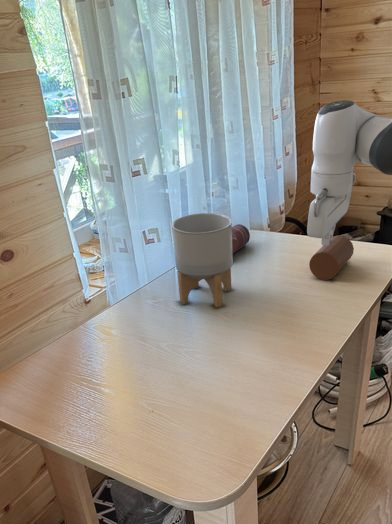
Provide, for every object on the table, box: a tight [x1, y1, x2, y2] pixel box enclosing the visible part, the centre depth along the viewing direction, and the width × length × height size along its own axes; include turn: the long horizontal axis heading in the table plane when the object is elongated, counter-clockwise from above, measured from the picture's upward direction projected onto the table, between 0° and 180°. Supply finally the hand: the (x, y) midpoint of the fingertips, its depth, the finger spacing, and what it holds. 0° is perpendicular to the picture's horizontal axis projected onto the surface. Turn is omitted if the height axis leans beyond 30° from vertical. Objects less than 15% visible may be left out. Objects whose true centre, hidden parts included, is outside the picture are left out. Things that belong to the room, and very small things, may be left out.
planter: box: [171, 212, 234, 308], centre depth 116 cm, size 13×13×18 cm
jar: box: [308, 235, 355, 281], centre depth 127 cm, size 7×7×12 cm
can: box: [232, 223, 251, 255], centre depth 141 cm, size 6×6×14 cm
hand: (326, 243), depth 120 cm, fingers closed
